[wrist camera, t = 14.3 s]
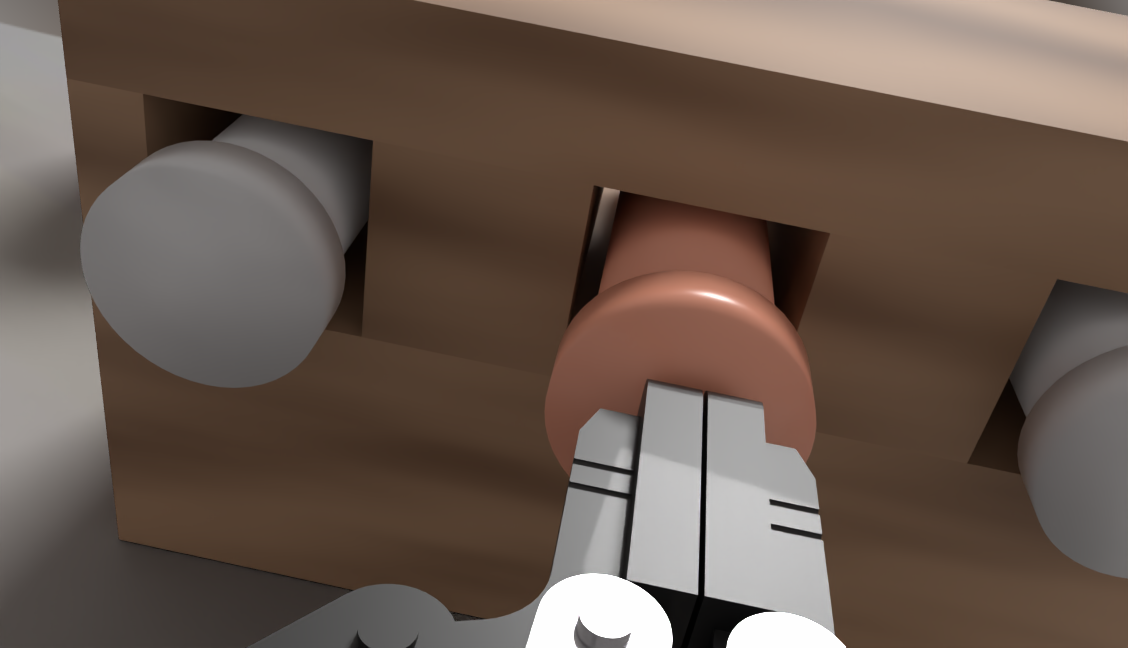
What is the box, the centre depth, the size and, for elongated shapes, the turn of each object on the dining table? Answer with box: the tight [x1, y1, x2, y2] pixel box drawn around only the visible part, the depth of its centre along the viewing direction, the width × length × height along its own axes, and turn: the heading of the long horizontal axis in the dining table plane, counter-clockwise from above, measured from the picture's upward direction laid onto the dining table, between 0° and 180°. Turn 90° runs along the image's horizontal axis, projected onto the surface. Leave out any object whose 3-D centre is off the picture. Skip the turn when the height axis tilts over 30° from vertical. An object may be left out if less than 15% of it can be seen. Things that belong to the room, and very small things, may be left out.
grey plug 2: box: [1009, 279, 1128, 579], centre depth 19 cm, size 12×4×4 cm, turn 172°
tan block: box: [58, 0, 1128, 648], centre depth 21 cm, size 9×20×12 cm, turn 82°
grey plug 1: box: [80, 114, 373, 388], centre depth 19 cm, size 12×4×4 cm, turn 172°
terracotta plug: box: [544, 191, 816, 477], centre depth 18 cm, size 12×4×4 cm, turn 172°
